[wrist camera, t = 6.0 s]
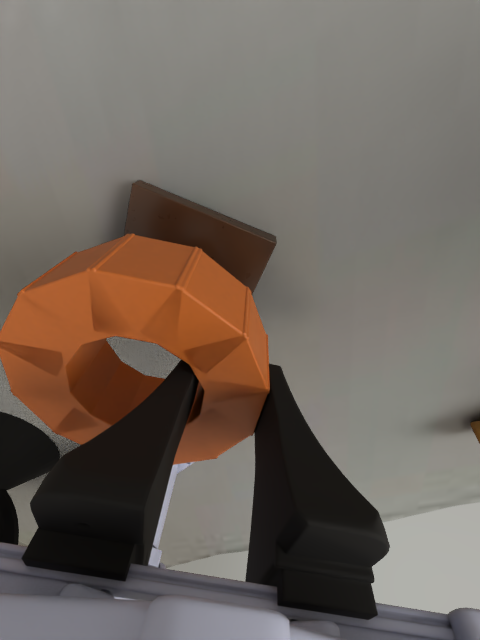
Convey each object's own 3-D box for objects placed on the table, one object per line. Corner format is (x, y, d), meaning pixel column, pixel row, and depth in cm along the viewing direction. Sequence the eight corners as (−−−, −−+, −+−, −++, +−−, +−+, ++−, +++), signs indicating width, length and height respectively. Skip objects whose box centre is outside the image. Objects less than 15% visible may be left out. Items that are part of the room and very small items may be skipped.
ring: (185, 431, 18) (171, 487, 15) (22, 342, 15) (-33, 393, 12) (309, 336, 14) (322, 391, 11) (115, 177, 10) (62, 198, 8)
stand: (228, 338, 24) (218, 401, 19) (118, 299, 23) (72, 354, 17) (276, 236, 19) (280, 281, 14) (139, 179, 18) (84, 204, 12)
